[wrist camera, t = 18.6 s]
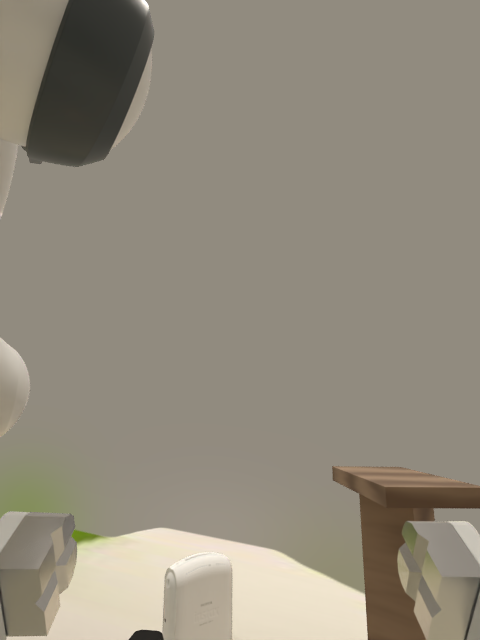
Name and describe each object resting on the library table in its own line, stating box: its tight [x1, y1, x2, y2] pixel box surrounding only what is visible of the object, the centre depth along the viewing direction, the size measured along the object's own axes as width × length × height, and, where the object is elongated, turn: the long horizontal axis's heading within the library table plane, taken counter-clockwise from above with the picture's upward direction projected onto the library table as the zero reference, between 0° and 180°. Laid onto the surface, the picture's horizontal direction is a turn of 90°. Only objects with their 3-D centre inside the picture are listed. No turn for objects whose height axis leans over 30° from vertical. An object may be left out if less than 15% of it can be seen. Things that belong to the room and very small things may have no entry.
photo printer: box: [162, 552, 232, 640], centre depth 57 cm, size 10×4×12 cm, turn 127°
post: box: [332, 466, 480, 640], centre depth 36 cm, size 17×17×26 cm
